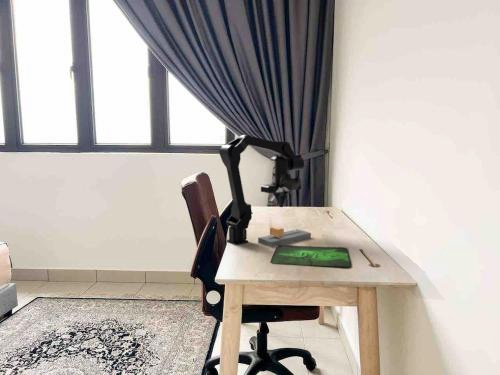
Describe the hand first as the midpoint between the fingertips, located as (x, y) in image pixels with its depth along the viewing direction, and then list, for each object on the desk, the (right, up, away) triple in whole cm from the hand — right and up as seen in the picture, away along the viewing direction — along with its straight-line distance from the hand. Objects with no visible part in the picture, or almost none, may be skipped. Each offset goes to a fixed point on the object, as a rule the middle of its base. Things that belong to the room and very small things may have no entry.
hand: (281, 207), depth 164 cm
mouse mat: (+8, -17, -27) cm, 33 cm away
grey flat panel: (+1, -13, -8) cm, 15 cm away
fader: (-3, -11, -11) cm, 16 cm away
